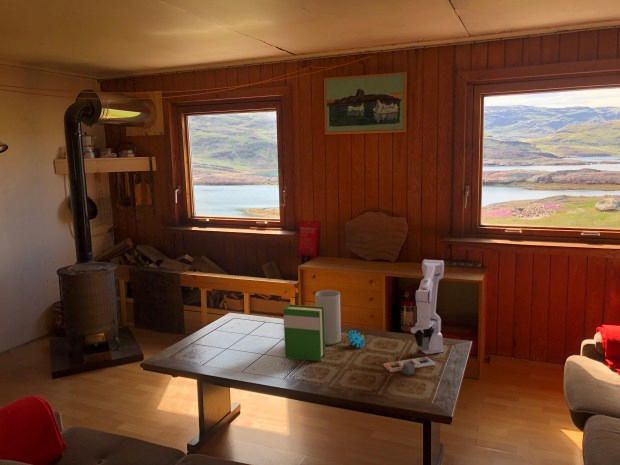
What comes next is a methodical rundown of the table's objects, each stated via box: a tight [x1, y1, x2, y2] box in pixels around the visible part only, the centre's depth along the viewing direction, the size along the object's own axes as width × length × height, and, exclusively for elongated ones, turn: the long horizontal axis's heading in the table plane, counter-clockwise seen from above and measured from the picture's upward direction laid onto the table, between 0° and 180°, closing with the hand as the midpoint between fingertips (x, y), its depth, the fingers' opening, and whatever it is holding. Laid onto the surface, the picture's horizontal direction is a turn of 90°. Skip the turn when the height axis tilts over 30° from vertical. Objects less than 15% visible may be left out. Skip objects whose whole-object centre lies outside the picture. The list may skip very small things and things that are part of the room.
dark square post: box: [417, 335, 429, 352], centre depth 231 cm, size 4×4×6 cm
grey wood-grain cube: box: [402, 362, 415, 376], centre depth 222 cm, size 4×4×4 cm
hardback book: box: [283, 304, 326, 362], centre depth 243 cm, size 18×7×24 cm, turn 71°
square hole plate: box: [383, 356, 436, 373], centre depth 230 cm, size 22×7×1 cm, turn 107°
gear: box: [347, 329, 365, 349], centre depth 256 cm, size 11×6×10 cm
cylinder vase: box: [314, 289, 342, 346], centre depth 262 cm, size 12×12×25 cm
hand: (423, 344), depth 231 cm, fingers closed on dark square post, 4 cm apart
